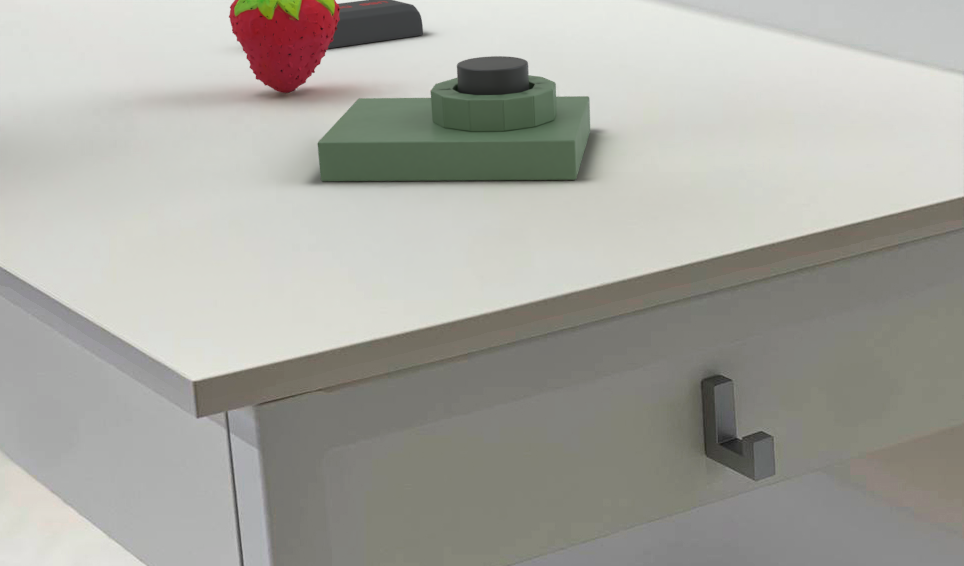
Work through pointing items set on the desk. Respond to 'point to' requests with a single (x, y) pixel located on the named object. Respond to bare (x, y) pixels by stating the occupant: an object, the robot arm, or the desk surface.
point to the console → (459, 137)
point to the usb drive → (375, 22)
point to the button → (492, 75)
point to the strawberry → (284, 37)
